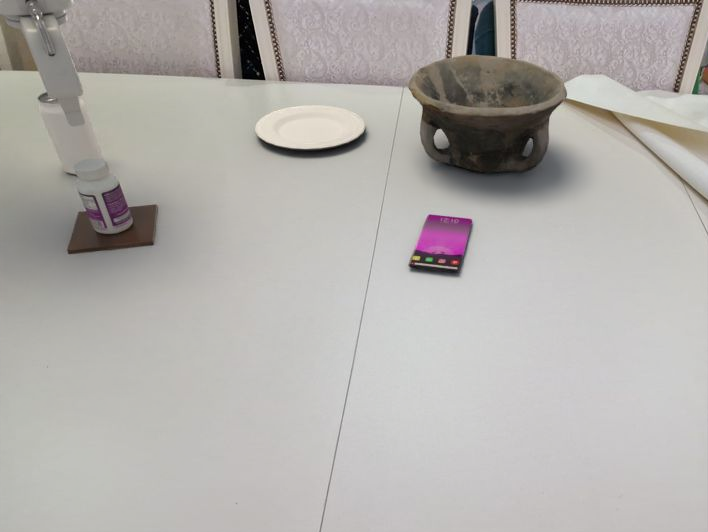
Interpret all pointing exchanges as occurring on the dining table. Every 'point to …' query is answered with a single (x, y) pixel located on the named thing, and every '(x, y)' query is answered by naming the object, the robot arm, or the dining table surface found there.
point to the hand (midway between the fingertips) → (71, 110)
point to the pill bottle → (102, 197)
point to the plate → (310, 127)
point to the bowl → (487, 111)
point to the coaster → (135, 235)
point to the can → (69, 134)
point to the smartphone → (441, 243)
